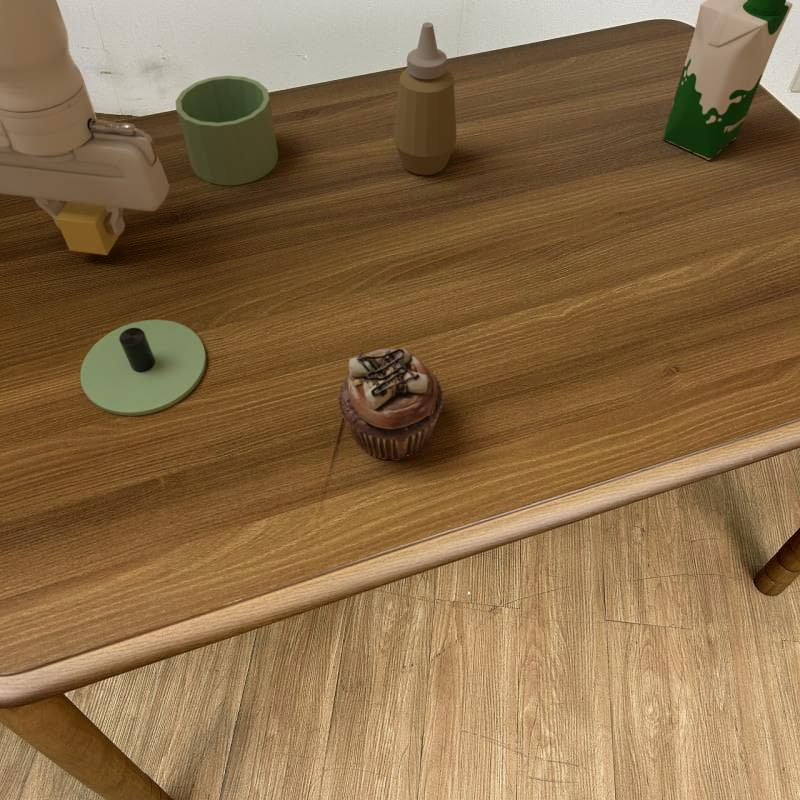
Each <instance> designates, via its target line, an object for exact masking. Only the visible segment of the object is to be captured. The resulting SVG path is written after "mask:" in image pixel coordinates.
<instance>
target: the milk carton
mask: <svg viewBox="0 0 800 800" xmlns="http://www.w3.org/2000/svg"><path fill="white" fill-rule="evenodd" d="M792 7H793V3H792V2H789V1H787V0H705V1H703V2H702V3H701V4H700V6H699V11H698V15H697V20H696V24H695V28H694V32H693V35H692V39H691V42H690V46H689V48H688V52H687V56H686V59H685V62H684V65H683V69H682V72H681V74H680V78H679V82H678V85H677V88H676V91H675V94H674V98H673V101H672V104H671V108H670V111H669V115H668V119H667V123H666V127H665V130H664V134H663V138H664V139H665V140H668V141H671V142H673V143H675V144H677V145H679V146H682V147H684V148H686V149H689V150H691V151H692V152H695V153H698V154H700V155H703V156H705V157H707V158H712V157H714V156H715V155H716V154H717V153H718V152H719V151H720V150H722V149H723V148H724V147H725V146H726V145H727V144H729V143H730V142H731V141H732V140H733V139H734V138H735V137H736V138H737V137H738V135H739V133H740V131H741V128H742V127H743V124H744V123H745V119H746V118H747V115H748V113H749V110H750V108H751V106H752V103H753V100H754V98H755V95H756V93H757V90H758V87H759V85H760V83H761V81H762V78H763V75H764V72H765V71H766V67H767V65H768V63H769V60H770V58H771V55H772V52H773V51H774V47H775V45H776V43H777V40H778V38H779V36H780V34H781V32H782V29H783V27H784V25H785V23H786V20H787V18H788V16H789V14H790V13H791V9H792ZM663 138H662V139H663ZM729 145H730V144H729ZM723 150H724V149H723ZM723 150H722V151H723ZM717 155H718V154H717ZM717 155H716V156H717ZM716 156H715V157H716ZM715 157H714V158H715Z"/></svg>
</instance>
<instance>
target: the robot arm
mask: <svg viewBox="0 0 800 800" xmlns="http://www.w3.org/2000/svg"><path fill="white" fill-rule="evenodd" d="M169 192H170V183H169V180H168V177H167V175H166V172H165V169H164V168H163V164H162V163H161V160H160V158H159V156H158V153H157V150H156V147H155V142H154V140H153V138H152V137H151V135H150V134H148V133H146V132H145V131H144V130H142V129H140V128H137V126H136V125H135V124H133V123H130V122H114V121H109V120H103V119H98V118H97V115H96V112H95V109H94V106H93V102H92V99H91V97H90V94H89V91H88V89H87V85H86V82H85V79H84V77H83V74H82V72H81V70H80V67H79V66H78V65H77V64H76V62H75V60H74V59H73V57H72V55H71V51H70V47H69V34H68V30H67V27H66V23H65V21H64V18H63V16H62V12H61V10H60V7H59V4H58V1H57V0H0V194H1V195H7V196H17V197H25V198H33V199H34V201H35V204H36V205H37V206H39V207H40V208H41V209H42V210H43V211H44V212H45V213H47V214H48V216H50V217H52V219H53V221H54V223H55V226H56V228H59V229H60V227H59V225H58V223H57V221H56V218H57V216H58V215H59V213H60V212H61V211H62V209H63V208H64V206H65V205H64V204H63V203H62V202H66V203H67V202H76V203H84V204H92V205H101V206H105V208H106V210H107V211H108V212H112V213H109V214H108V216H107V218H106V219H105V220H104V222H103V224H104V227H105V228H106V232H107V233H108V234H115V235H119V236H122V234H123V232H124V230H125V228H126V224H125V221H124V218H123V213H124V210H125V209H126V210H136V211H144V212H156V211H158V209H160V207H161V206H162V204H163V203H164V201H165V200H166V198H167V196H168V194H169Z"/></svg>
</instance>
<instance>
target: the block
mask: <svg viewBox="0 0 800 800" xmlns="http://www.w3.org/2000/svg"><path fill="white" fill-rule="evenodd" d="M63 206H64V208H63V209H62V211H61V212H60V213H59V215H58V216H57V218H56V221H57V223H58V225H59V227H60V228H59V230H60V232H61V234H62V236H63V238H64V241H65V243H66V245H67V247H68V250H69V252H76V253H77V252H78V253H85V254H87V253H88V254H93V255H101V256H108V255H109V253H110V251H111V250H112V248H113V247H114V245H115V243H116V242H117V240H118V238H119V237H120V235H115V234H108V233H107V232H106V228H105V227H104V224H103V222H104V220H105V219H106V218H107V216H108V214H109V213H112V212H108V211H107V210H106V208H105V206H101V205H92V204H84V203H76V202H67V201H66V203H65V205H63Z"/></svg>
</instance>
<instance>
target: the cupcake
mask: <svg viewBox="0 0 800 800" xmlns="http://www.w3.org/2000/svg"><path fill="white" fill-rule="evenodd" d="M342 382H343V383H342V385H340V386H339V388H340V390H339V391H338V394H339V397H338V398H337V401H338V407H339V409H340V411H339V412H340V413H341V416H342V418H343V419H344V421H345V423H346V424H347V426H348V428H349V431H350V435H351V437H353V439H354V441H355V442H356V444H357V445H358V446H359V445H360V446H361V447H360V446H359V447H360V449H361V450H363V449H364V450H365V451H366V452H365V451H364V450H363V451H364V452H365V453H367V452H368V453H367V454H368V455H369V454H370V455H374V456H375V457H379V458H385V459H393V460H392V461H396V460H395V459H401V460H403V459H402V458H404V457H406V456H407V455H409V456H408V457H411V456H410V455H413V454H415V453H417V452H419V451H420V450H421V449H422V448H423V447H424V448H425V447H426V445H427V444H428V443H429V442H430V440H429V439H431V437H432V434H433V432H434V429H435V426H436V424H437V422H438V419H439V416H440V414H441V410H442V408H443V403H444V396H445V395H444V393H443V390H442V386H441V382H440V381H438V376H437V374H434V370H432V369H431V368H430V367H429V366H428V365H427V364H426V363H425V362H424V361H423V360H422V359H421V358H420V357H418V356H417V355H415V354H414V353H412V352H410V351H408V350H406V349H401V348H378V349H377V350H374V351H372V352H369V353H367V354H364V353H362V352H359V353H358V354H357V356H356V357H352V358H350V359H349V361H348V373H347V375H346V378H345V379H344V380H342ZM428 441H429V442H428ZM427 442H428V443H427ZM426 443H427V444H426ZM424 448H423V449H424ZM423 449H422V450H423ZM422 450H421V451H422ZM421 451H420V452H421ZM420 452H419V453H420ZM417 454H418V453H417ZM370 455H369V456H370ZM415 455H416V454H415ZM413 456H414V455H413ZM375 457H374V458H375ZM379 458H378V459H379ZM406 458H407V457H406ZM385 459H384V460H385ZM404 459H405V458H404Z"/></svg>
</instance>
